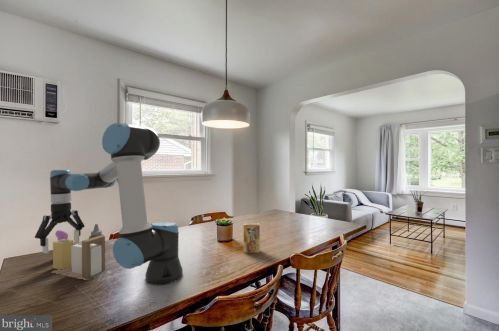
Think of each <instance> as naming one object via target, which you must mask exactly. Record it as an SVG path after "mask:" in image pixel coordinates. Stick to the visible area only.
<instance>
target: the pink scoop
mask: <svg viewBox="0 0 499 331" xmlns="http://www.w3.org/2000/svg"><path fill="white" fill-rule="evenodd" d="M54 234H55V237H57V241H59V240H62V239H68V238H69V234H68V233H67V232H66V231H64V230H61V229H58V230H56V231H55V233H54ZM68 240H69V239H68ZM73 244H76V243H74V241H73Z"/></svg>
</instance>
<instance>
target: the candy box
mask: <svg viewBox="0 0 499 331" xmlns="http://www.w3.org/2000/svg"><path fill="white" fill-rule="evenodd" d="M260 228H261V227H260V223H259V222H257V223H249V222H248V223H243V253H260V244H261V242H260V236H261V234H260V233H261V232H260V231H261V229H260Z"/></svg>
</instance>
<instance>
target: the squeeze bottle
mask: <svg viewBox="0 0 499 331" xmlns="http://www.w3.org/2000/svg"><path fill="white" fill-rule="evenodd" d="M97 236H105V235H104V233H103V231H102V230H100V228H99V224H98V223H95V224H94V227H93V230H92V231H91V232H90V236H89V237H88V239H90V238H94V237H97ZM93 244H97V242H96V243H93ZM106 251H107V250H106V249H105V252H106Z"/></svg>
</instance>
